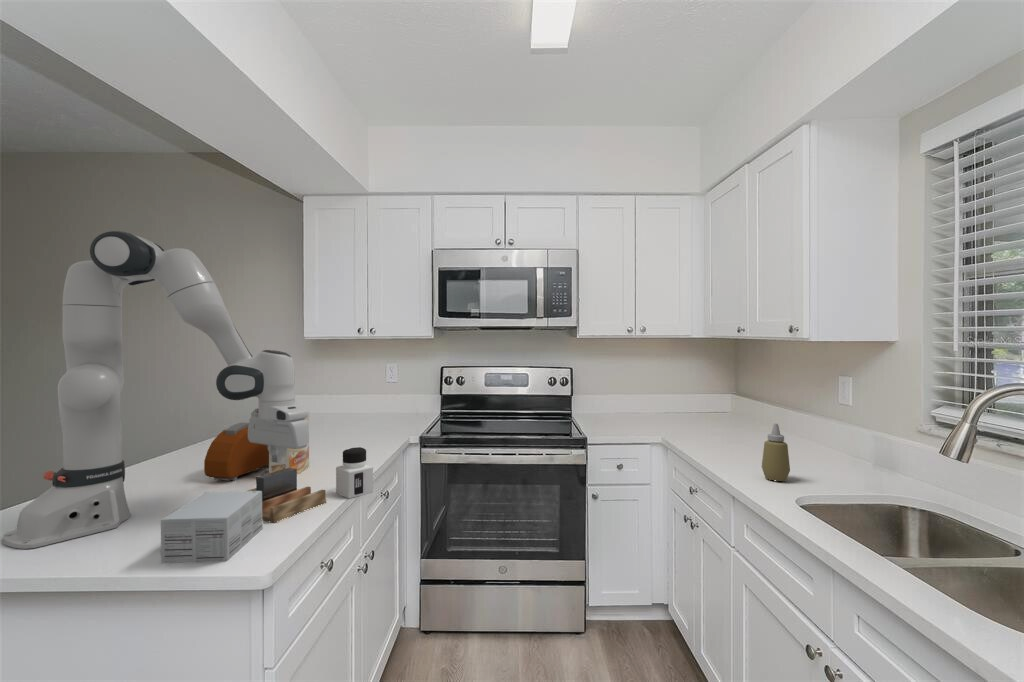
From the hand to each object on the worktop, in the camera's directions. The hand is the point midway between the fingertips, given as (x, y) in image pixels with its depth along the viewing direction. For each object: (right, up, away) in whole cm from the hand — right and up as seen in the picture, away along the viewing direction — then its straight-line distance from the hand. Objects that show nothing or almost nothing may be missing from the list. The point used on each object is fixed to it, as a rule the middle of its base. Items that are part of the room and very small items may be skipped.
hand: (277, 462), depth 130 cm
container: (+17, -12, +12) cm, 24 cm away
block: (0, -11, 0) cm, 11 cm away
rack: (0, -12, 0) cm, 12 cm away
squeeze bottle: (+148, -12, +26) cm, 150 cm away
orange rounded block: (-27, -12, +32) cm, 43 cm away
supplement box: (-2, -13, -24) cm, 27 cm away
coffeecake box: (-11, -12, +31) cm, 35 cm away
